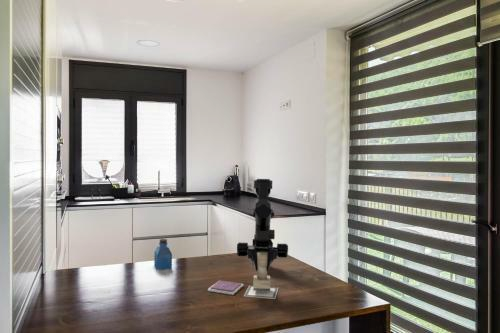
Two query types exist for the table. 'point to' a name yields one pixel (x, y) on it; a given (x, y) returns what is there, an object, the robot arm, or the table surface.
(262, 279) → the stamp
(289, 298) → the table surface
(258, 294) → the marked card
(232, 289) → the ink pad
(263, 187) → the robot arm
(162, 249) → the perfume bottle
